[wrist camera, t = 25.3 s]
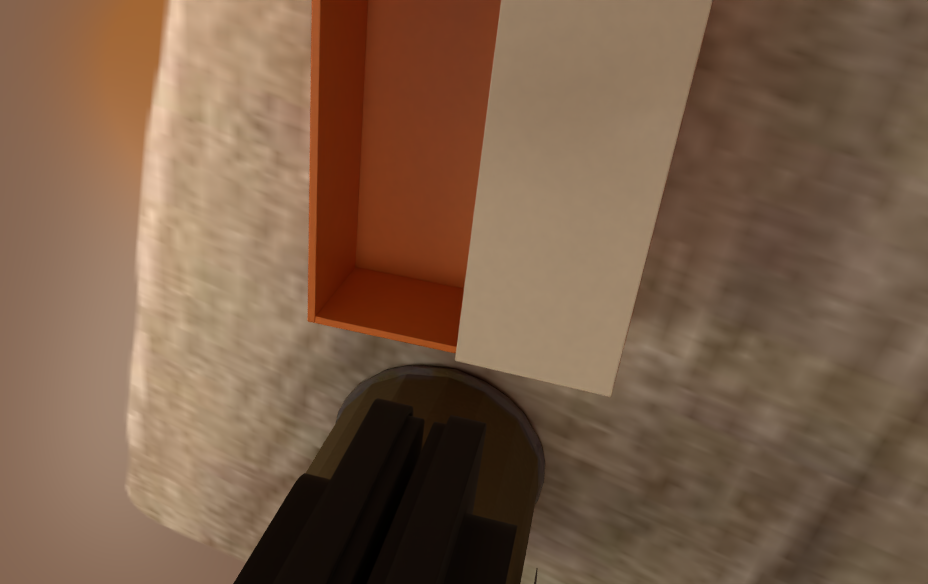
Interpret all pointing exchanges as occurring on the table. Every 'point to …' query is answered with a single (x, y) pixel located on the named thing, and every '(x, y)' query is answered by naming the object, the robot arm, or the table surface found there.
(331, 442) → the canister
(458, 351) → the flap
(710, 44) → the table surface
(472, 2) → the carton
